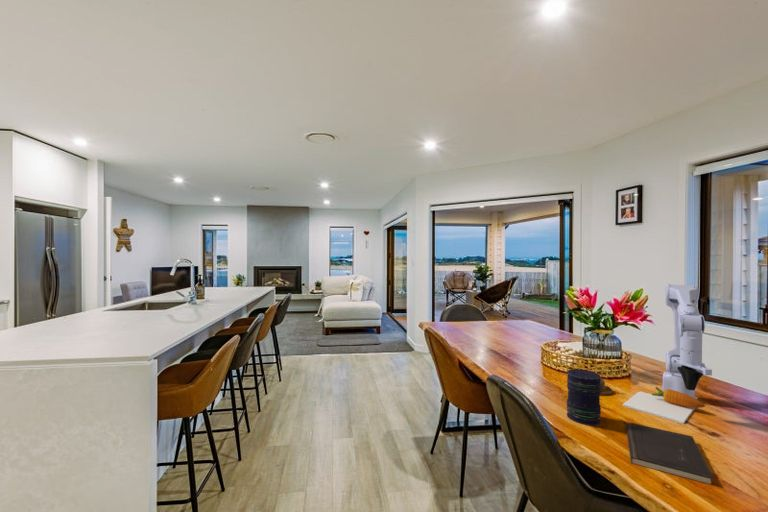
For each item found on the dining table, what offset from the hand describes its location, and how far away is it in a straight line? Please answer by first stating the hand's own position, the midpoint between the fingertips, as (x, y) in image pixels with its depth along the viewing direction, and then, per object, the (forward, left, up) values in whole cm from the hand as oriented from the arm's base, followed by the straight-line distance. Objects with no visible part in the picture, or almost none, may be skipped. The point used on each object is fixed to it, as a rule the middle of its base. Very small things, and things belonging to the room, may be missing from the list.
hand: (690, 389), depth 119 cm
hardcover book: (0, -36, -10) cm, 37 cm away
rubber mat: (-8, 0, -9) cm, 12 cm away
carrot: (+3, +6, -6) cm, 9 cm away
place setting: (-31, -5, -10) cm, 33 cm away
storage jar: (-22, -32, -9) cm, 40 cm away
